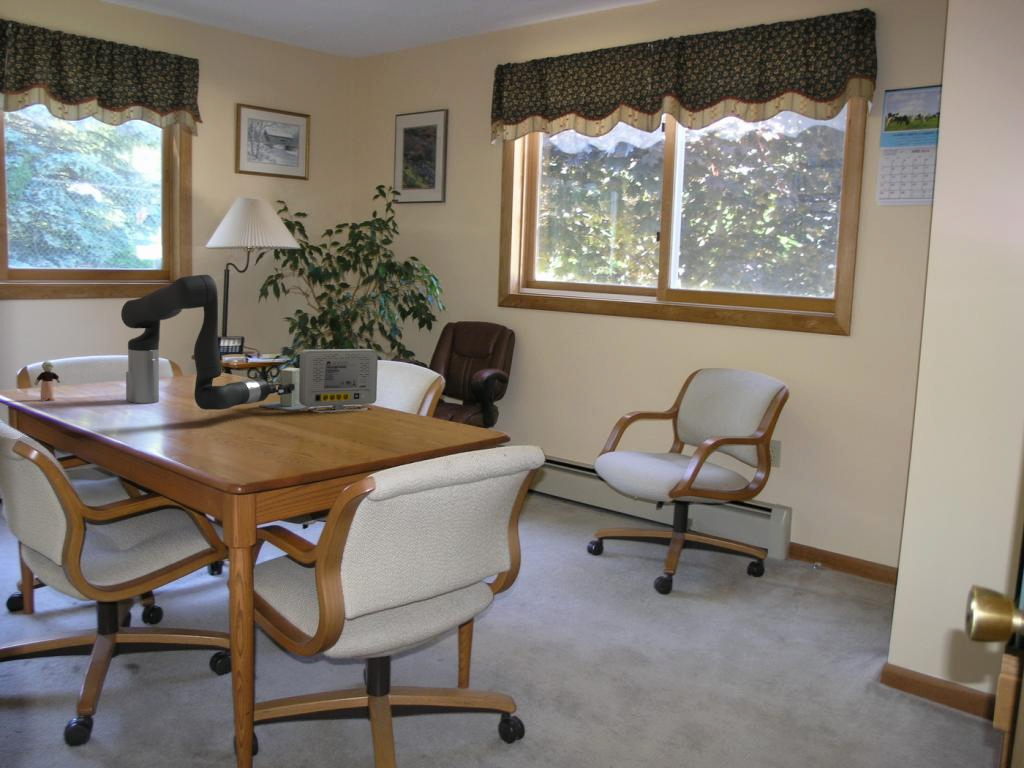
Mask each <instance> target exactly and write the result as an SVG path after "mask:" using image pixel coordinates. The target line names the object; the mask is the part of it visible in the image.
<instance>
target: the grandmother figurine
mask: <svg viewBox="0 0 1024 768" xmlns="http://www.w3.org/2000/svg"><path fill="white" fill-rule="evenodd" d="M54 367H55V366H54V363H52V362H51V361H48V360H46V361H43V362H42V364H41V368H42V370H43V371H42V372H40V374H38V376H37V377H36V379H35V382H34V386H38V385H39V382H40V381H41V385H40V397H39V398H40V399H39V402H47V401H48V402H49V401H51V402H52V401H55V400H56V399H55V398H54V380H56V383H57V384H59V383H61V380H60V378H59V375H58V374H57V373H55V372H53V371H52V370H53V368H54Z"/></svg>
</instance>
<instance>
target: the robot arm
mask: <svg viewBox="0 0 1024 768" xmlns="http://www.w3.org/2000/svg"><path fill="white" fill-rule="evenodd" d="M217 288H218V287H217V284H216V281H215V280H214V278H213V277H212V276H211V275H210V274H197V275H189V276H183V277H179V278H177V279H176V280H175V281H173V282H172V283H170V284H169V285H168V286H164V287H161V288H159V289H157V290H154V291H153V292H151V293H149V294H145V295H143V296H141V297H140V298H136V299H128V300H127V301H126V302H125V303H124V304H123V305H122V308H121V312H120V315H121V321H122V322H123V324H124V325H125V326H126V327H127V328H130V329H144V331H143V333H141V334H140V335H138V336H136V337H133V338H131V339H130V340H128V342H127V359H128V360H127V362H128V363H127V364H128V370H127V371H126V373H125V394H126V397H125V398H126V401H127V402H129V403H132V402H133V404H151V403H158V402H160V373H159V372H160V369H159V368H160V365H159V361H160V358H159V355H160V354H159V347H160V339H161V338H160V337H161V336H160V333H161V321H165V320H169V319H172V318H174V317H176V316H178V315H179V314H180V313H181V312H182V311H183V310H190V309H197V308H203V321H202V324H201V328H200V329H199V332H198V336H197V337H196V341H195V344H194V348H193V356H194V358H193V359H194V363H195V369H196V378H195V385H194V401H195V403H196V406H197V407H198V408H200V409H201V410H209V411H210V410H212V411H213V410H218V411H219V410H221V411H222V410H228V409H230V408H233V407H235V406H240V405H250V404H254V403H260V402H263V401H266V399H267V398H268V397H269V396H273V395H277V396H280V395H284V394H290V393H292V391H293V390H295V384H286V385H281V382H277V383H276V382H275V383H274V381H273V380H270V381H269V380H267V381H266V380H265V379H263V378H261V377H255V378H249V379H242V380H240V381H235V382H230V383H227V384H225V385H213V380H214V379H217V378H218V377H221V375H222V373H223V371H222V370H223V369H222V362H221V355H220V350H219V336H218V335H219V332H218V331H219V330H218V329H219V303H218V301H219V298H218V297H219V295H218V289H217ZM277 386H278V387H277Z"/></svg>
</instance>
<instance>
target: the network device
mask: <svg viewBox="0 0 1024 768" xmlns="http://www.w3.org/2000/svg"><path fill="white" fill-rule="evenodd" d="M378 357H379V354H378V352H377V351H376V350H374V349H371V348H346V349H345V348H343V349H341V348H340V349H339V348H337V349H326V348H325V349H303V350H301V351H300V353H299V368H300V375H299V402H300V404H302V405H304V406H306V407H310V408H308V411H310V410H311V411H310V412H312V411H313V412H312V413H314V412H319V413H318V414H324V413H323V412H337V411H356V412H358V411H357V410H367V411H368V407H366V406H364V405H372V404H375V403H376V401H377V394H378V393H377V391H378V388H377V387H378ZM314 406H317V407H314ZM355 406H357V407H355ZM344 407H348V408H352V409H347V408H344ZM359 407H360V408H359ZM314 408H327V409H328V410H318V409H314ZM329 408H333V409H335V410H333V409H330V410H329ZM361 408H363V409H361ZM321 412H322V413H321ZM337 413H338V412H337Z"/></svg>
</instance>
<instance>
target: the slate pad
mask: <svg viewBox="0 0 1024 768" xmlns="http://www.w3.org/2000/svg"><path fill="white" fill-rule="evenodd" d="M258 406H259V408H264V407H266V408H265V409H271V408H274V409H273V410H278V409H279V410H281V411H285V410H286V412H292V411H293V412H294V411H295V412H297V411H298V410H299V411H303V410H302V409H304V410H307V409H306V408H308V409H309V408H310V407H306V406H304V405H302V404H300V403H299V404H297V405H295V406H292V407H291V406H281V405H280V400H277V401H274V402H273V401H272V402H267V403H262V404H259V405H258ZM314 407H315V406H314ZM295 412H294V413H295Z"/></svg>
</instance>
